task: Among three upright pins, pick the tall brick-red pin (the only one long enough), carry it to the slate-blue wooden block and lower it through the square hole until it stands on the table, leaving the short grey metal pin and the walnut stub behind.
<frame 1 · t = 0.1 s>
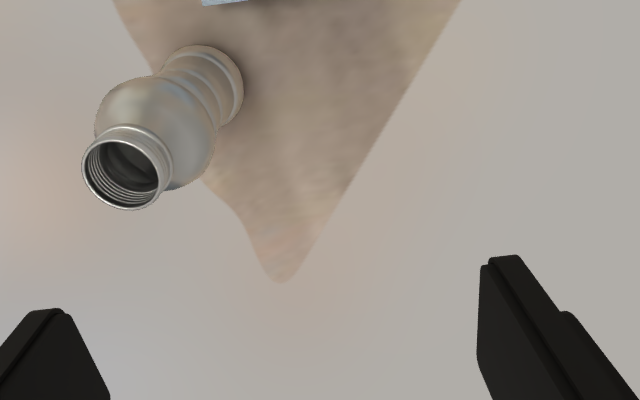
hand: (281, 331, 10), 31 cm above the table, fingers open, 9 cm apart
plastic bottle: (209, 80, 38), on the table
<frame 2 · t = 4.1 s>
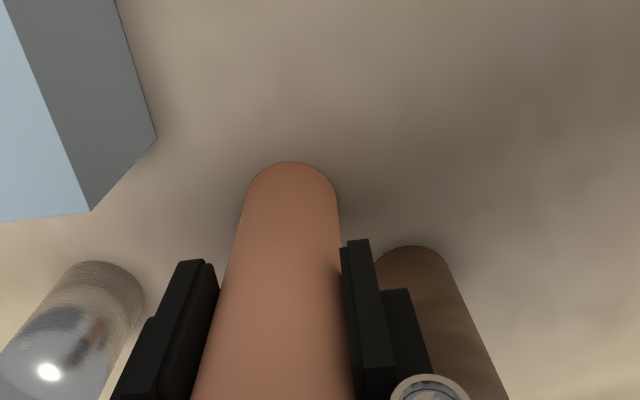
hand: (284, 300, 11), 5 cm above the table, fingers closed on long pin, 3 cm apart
long pin: (291, 203, 16), on the table, touching gripper
short pin: (102, 294, 18), on the table
mid pin: (408, 280, 18), on the table
when the fingers open (7 cm above the table, at t = 8.2 s): long pin drops 2 cm, resting in hole block.
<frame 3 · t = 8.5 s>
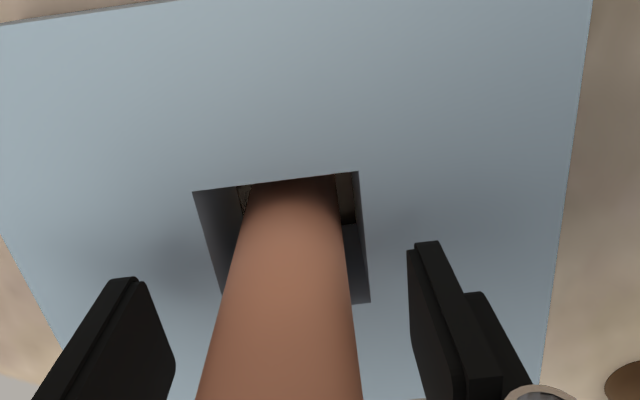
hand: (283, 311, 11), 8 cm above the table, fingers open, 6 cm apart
long pin: (295, 182, 18), resting in hole block
hole block: (293, 180, 18), on the table
mid pin: (635, 382, 23), on the table
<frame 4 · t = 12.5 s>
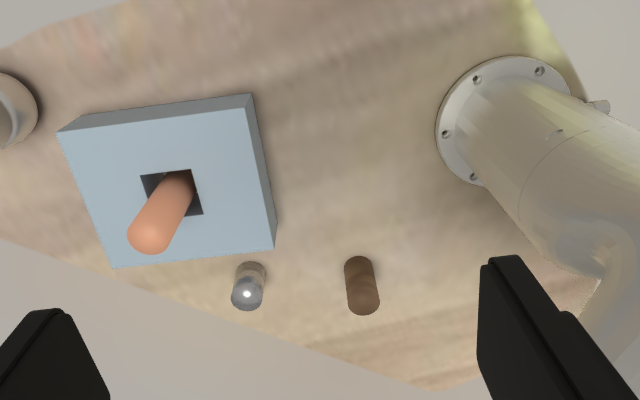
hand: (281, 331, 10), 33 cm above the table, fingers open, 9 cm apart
long pin: (186, 173, 45), resting in hole block
plastic bottle: (12, 102, 41), on the table
hole block: (186, 172, 44), on the table
short pin: (251, 273, 50), on the table
mid pin: (358, 267, 50), on the table
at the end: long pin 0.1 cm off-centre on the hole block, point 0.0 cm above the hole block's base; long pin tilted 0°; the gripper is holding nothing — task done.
